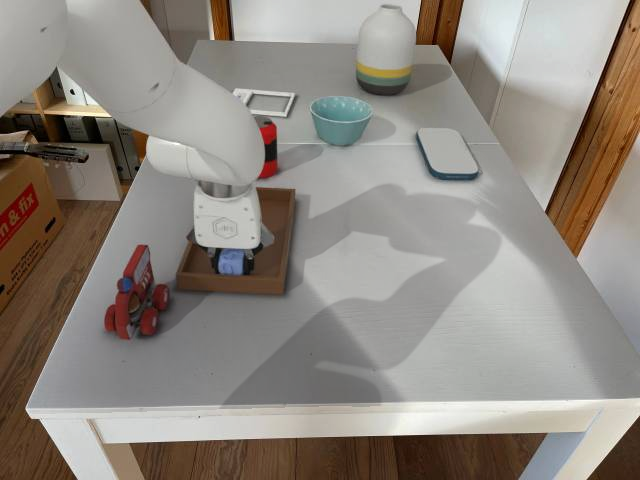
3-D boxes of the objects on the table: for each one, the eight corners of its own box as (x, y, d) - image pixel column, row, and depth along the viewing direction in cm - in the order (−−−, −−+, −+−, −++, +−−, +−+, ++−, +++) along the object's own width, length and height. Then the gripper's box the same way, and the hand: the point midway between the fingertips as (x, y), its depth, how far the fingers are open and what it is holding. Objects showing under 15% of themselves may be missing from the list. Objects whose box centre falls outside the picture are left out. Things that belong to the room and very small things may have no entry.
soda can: (272, 181, 110) (271, 131, 103) (239, 176, 112) (236, 127, 104) (281, 164, 116) (280, 116, 109) (250, 160, 117) (247, 112, 110)
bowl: (366, 125, 134) (369, 96, 129) (373, 153, 122) (376, 122, 117) (308, 124, 134) (309, 94, 129) (309, 152, 121) (310, 120, 116)
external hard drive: (413, 134, 131) (414, 127, 130) (456, 134, 132) (457, 128, 131) (431, 181, 113) (432, 173, 112) (480, 181, 113) (483, 174, 112)
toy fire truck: (102, 346, 73) (83, 295, 67) (133, 287, 83) (120, 239, 76) (148, 350, 73) (134, 300, 66) (174, 291, 82) (164, 242, 76)
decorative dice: (247, 264, 86) (246, 247, 84) (242, 280, 83) (241, 262, 81) (225, 262, 87) (223, 245, 84) (219, 278, 83) (217, 260, 81)
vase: (355, 77, 162) (361, -3, 147) (407, 80, 161) (419, 0, 146) (353, 97, 149) (359, 12, 134) (409, 101, 148) (422, 16, 133)
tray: (283, 294, 83) (283, 280, 81) (178, 289, 83) (175, 275, 81) (295, 202, 104) (295, 188, 102) (212, 198, 104) (210, 184, 102)
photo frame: (235, 87, 148) (294, 92, 147) (235, 91, 149) (294, 96, 148) (222, 107, 137) (286, 113, 136) (222, 111, 138) (286, 116, 136)
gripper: (161, 190, 71) (179, 283, 82) (279, 196, 70) (280, 288, 82) (175, 163, 76) (190, 254, 88) (284, 169, 76) (284, 259, 88)
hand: (233, 270), depth 85 cm, fingers closed on decorative dice, 4 cm apart
